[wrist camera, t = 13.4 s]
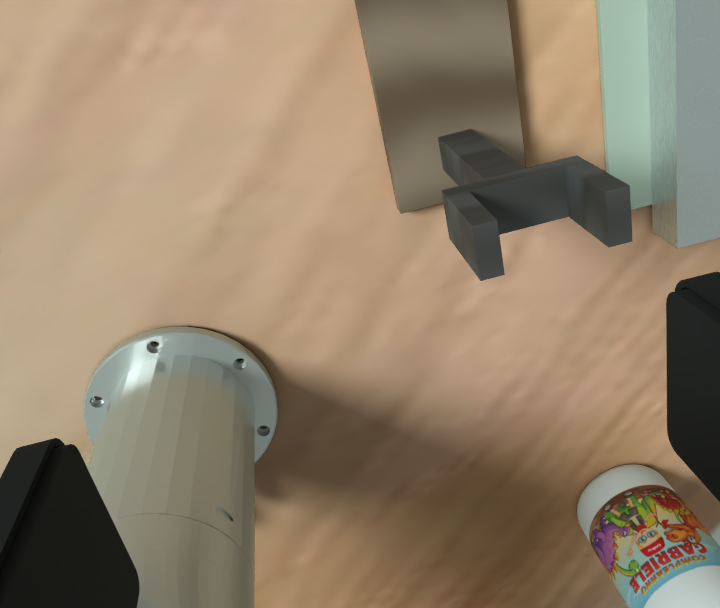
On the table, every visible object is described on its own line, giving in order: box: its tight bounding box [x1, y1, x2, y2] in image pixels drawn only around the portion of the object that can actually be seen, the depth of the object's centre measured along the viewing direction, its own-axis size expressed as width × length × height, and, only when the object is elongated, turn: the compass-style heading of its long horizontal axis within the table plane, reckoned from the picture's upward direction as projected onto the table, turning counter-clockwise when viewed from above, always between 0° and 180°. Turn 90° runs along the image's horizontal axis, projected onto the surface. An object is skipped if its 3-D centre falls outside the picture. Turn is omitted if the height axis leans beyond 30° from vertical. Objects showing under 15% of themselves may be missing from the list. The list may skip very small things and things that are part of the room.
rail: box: [647, 0, 720, 249], centre depth 39 cm, size 24×3×3 cm, turn 12°
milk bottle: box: [577, 464, 720, 608], centre depth 47 cm, size 8×8×20 cm
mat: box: [596, 0, 652, 210], centre depth 41 cm, size 20×9×1 cm, turn 13°
